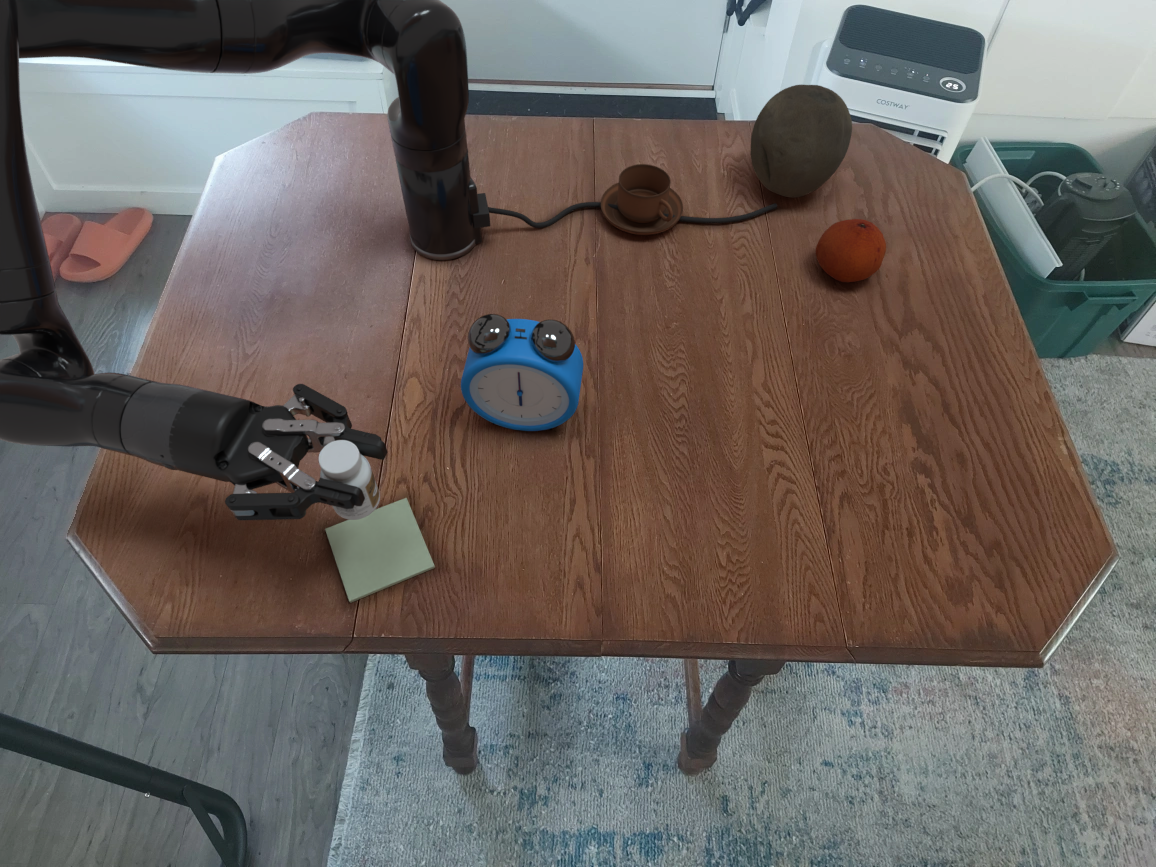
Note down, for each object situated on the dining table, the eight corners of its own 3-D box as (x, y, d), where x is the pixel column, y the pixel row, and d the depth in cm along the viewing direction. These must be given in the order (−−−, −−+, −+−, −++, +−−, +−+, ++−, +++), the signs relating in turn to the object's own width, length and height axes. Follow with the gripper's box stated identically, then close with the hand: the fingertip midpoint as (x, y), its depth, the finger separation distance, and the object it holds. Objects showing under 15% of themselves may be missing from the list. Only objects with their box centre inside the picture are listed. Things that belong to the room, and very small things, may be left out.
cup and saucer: (695, 208, 113) (702, 173, 108) (656, 253, 107) (661, 218, 102) (626, 179, 116) (629, 144, 111) (584, 222, 110) (586, 186, 105)
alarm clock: (465, 427, 88) (451, 341, 76) (475, 386, 92) (463, 297, 80) (576, 439, 88) (580, 354, 76) (582, 397, 91) (586, 309, 79)
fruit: (847, 242, 109) (866, 196, 102) (886, 282, 104) (908, 236, 98) (796, 259, 107) (812, 213, 100) (834, 300, 102) (854, 255, 96)
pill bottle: (388, 507, 71) (373, 462, 64) (344, 529, 69) (324, 486, 63) (368, 473, 73) (352, 426, 66) (325, 494, 71) (304, 448, 65)
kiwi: (841, 216, 112) (876, 124, 100) (746, 214, 112) (770, 121, 100) (823, 158, 121) (853, 67, 108) (735, 156, 120) (755, 64, 108)
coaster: (407, 499, 83) (406, 497, 82) (435, 567, 78) (434, 565, 78) (326, 530, 80) (324, 528, 80) (350, 603, 76) (349, 601, 75)
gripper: (129, 473, 61) (328, 523, 59) (220, 344, 69) (397, 384, 67) (167, 518, 67) (348, 564, 65) (247, 395, 75) (410, 433, 73)
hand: (372, 473), depth 66 cm, fingers closed on pill bottle, 4 cm apart
